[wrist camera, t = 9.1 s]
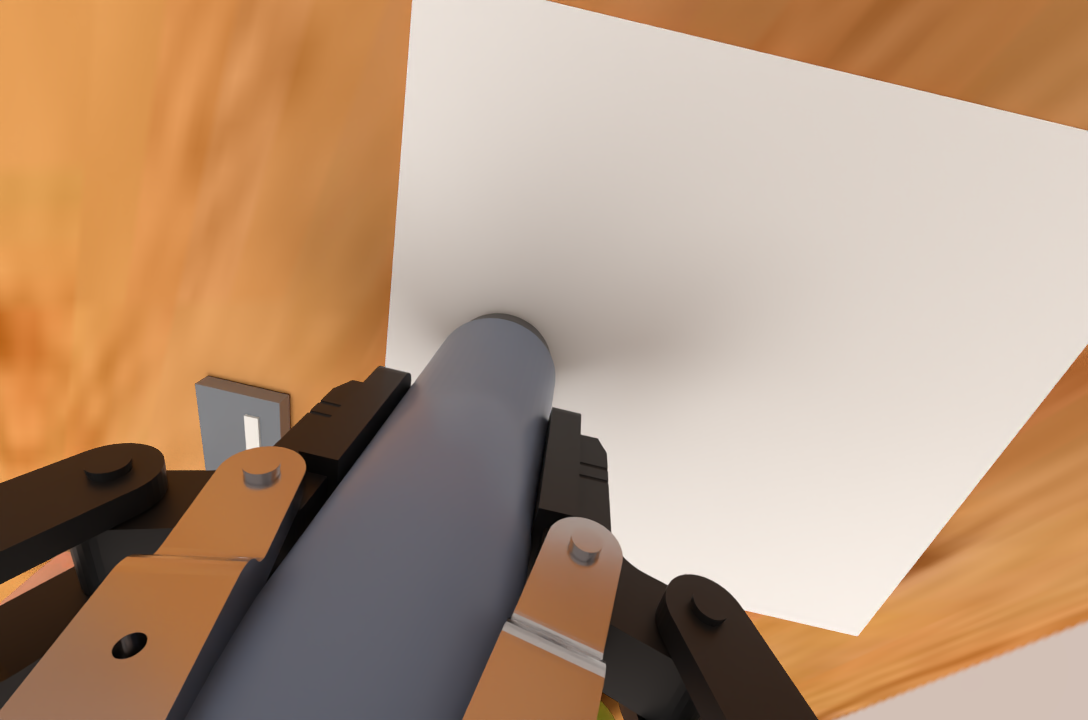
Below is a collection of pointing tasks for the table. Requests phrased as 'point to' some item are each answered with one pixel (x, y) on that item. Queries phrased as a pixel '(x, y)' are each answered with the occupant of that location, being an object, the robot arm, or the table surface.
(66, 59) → the table surface
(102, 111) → the table surface
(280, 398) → the letter card
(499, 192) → the paper
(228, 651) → the grey-blue cylinder
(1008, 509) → the table surface
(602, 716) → the snail figurine
